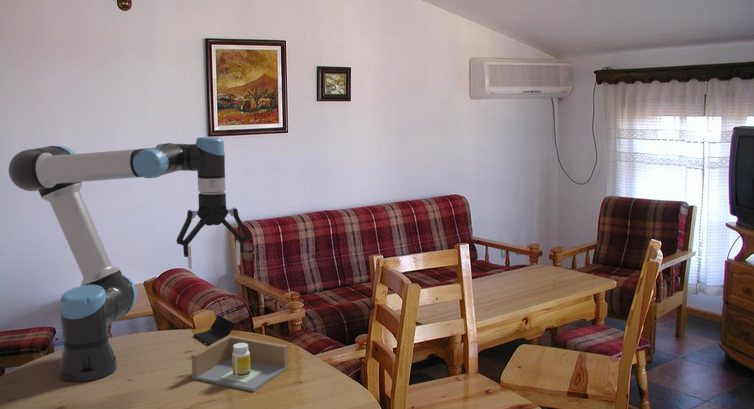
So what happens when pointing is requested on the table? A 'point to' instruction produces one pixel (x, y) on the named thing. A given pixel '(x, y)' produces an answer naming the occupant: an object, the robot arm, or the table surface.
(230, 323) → the handheld gaming console
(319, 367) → the table surface
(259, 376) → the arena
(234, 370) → the supplement bottle
